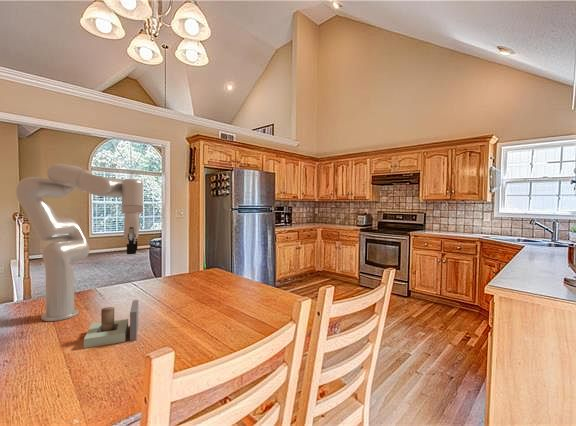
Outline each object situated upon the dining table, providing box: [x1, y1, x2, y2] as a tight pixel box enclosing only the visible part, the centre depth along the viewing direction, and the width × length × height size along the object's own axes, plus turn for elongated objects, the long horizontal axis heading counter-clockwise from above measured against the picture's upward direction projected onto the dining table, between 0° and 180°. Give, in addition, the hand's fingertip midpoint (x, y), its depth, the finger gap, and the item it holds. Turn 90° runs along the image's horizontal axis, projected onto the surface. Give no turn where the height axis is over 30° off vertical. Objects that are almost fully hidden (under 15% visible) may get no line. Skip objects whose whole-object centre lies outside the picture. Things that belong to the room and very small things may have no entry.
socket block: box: [83, 318, 129, 349], centre depth 106 cm, size 14×12×3 cm
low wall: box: [129, 299, 139, 342], centre depth 110 cm, size 14×2×10 cm, turn 24°
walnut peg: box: [100, 306, 115, 332], centre depth 106 cm, size 4×4×10 cm
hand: (132, 252), depth 119 cm, fingers open, 9 cm apart
